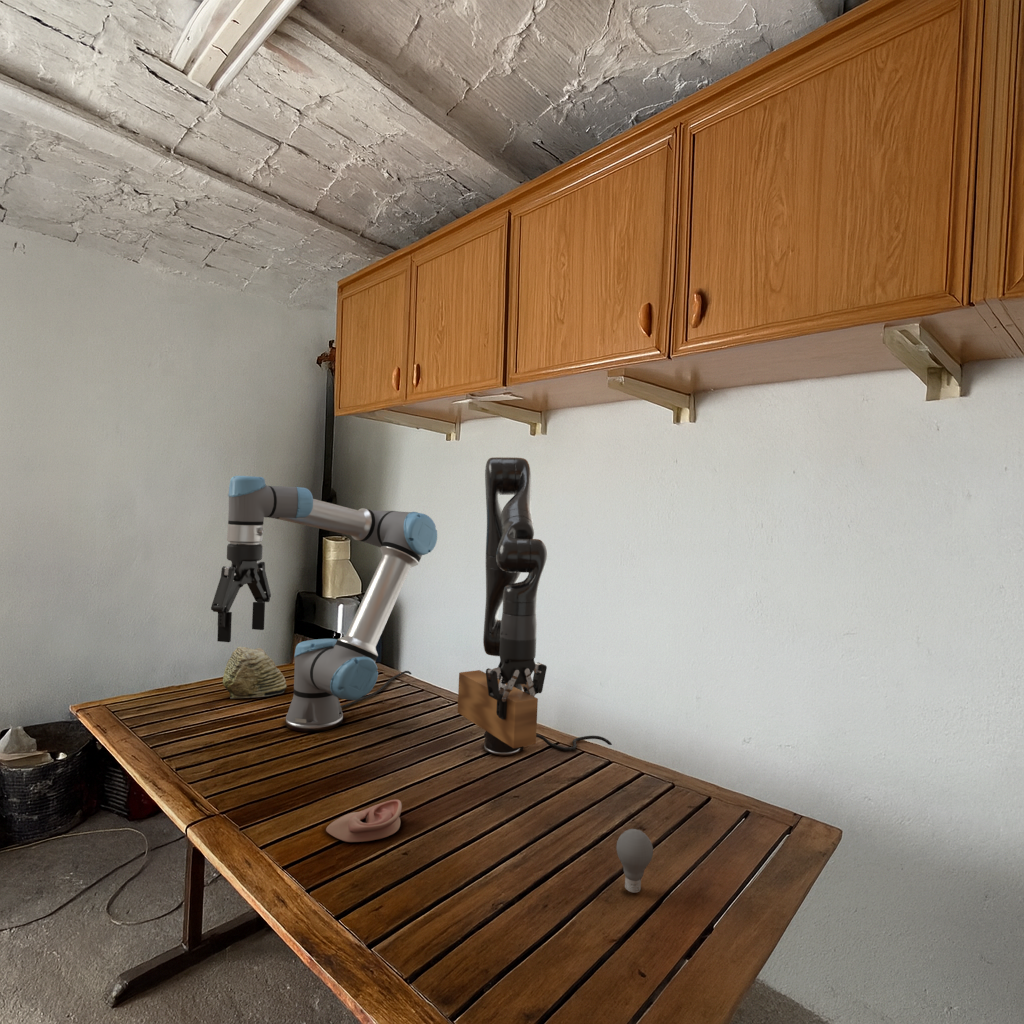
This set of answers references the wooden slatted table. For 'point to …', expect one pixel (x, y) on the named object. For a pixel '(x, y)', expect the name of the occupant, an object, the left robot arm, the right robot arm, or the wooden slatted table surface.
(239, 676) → the fossil
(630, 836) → the light bulb
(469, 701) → the bar
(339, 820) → the anatomical model
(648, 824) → the wooden slatted table surface
